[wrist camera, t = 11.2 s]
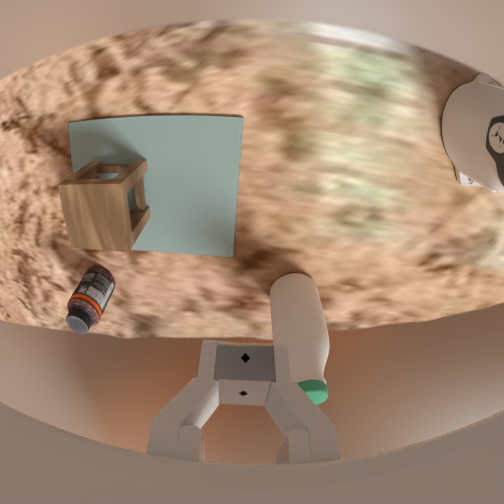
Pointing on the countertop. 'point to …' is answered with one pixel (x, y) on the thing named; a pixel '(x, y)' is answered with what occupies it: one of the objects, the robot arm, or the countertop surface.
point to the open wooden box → (104, 206)
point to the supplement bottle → (89, 299)
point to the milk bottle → (301, 331)
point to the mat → (173, 175)
